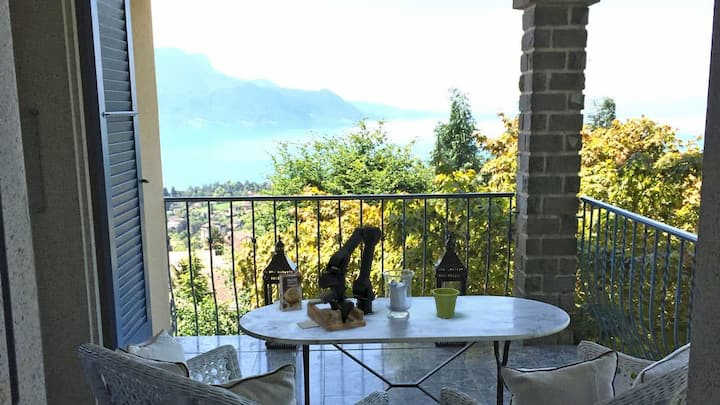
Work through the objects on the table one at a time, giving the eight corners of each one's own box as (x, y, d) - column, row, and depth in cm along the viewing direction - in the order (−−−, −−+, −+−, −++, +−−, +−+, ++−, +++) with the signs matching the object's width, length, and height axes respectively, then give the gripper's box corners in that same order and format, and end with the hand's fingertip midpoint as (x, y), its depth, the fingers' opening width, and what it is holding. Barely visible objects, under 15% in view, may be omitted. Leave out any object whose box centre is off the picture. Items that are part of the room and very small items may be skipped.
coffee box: (282, 311, 267) (282, 277, 265) (279, 308, 273) (278, 273, 271) (302, 309, 270) (301, 275, 268) (298, 305, 276) (297, 272, 274)
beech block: (342, 320, 255) (342, 309, 254) (346, 324, 251) (346, 312, 250) (331, 322, 253) (331, 311, 252) (336, 325, 248) (336, 314, 248)
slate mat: (313, 321, 254) (313, 320, 254) (319, 326, 247) (319, 325, 247) (296, 323, 251) (296, 322, 251) (302, 329, 244) (302, 328, 244)
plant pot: (457, 312, 266) (458, 288, 265) (459, 320, 254) (460, 295, 253) (431, 311, 267) (431, 287, 266) (432, 320, 256) (432, 294, 254)
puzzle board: (342, 309, 270) (342, 298, 269) (365, 325, 248) (365, 313, 247) (307, 315, 262) (307, 303, 262) (328, 331, 240) (328, 318, 240)
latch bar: (343, 298, 268) (343, 289, 267) (346, 300, 265) (346, 291, 264) (308, 303, 260) (308, 294, 260) (310, 305, 258) (310, 296, 257)
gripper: (313, 281, 255) (313, 316, 256) (330, 291, 238) (330, 329, 240) (336, 278, 259) (337, 312, 261) (355, 288, 243) (355, 325, 245)
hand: (339, 319), depth 252 cm, fingers open, 9 cm apart
